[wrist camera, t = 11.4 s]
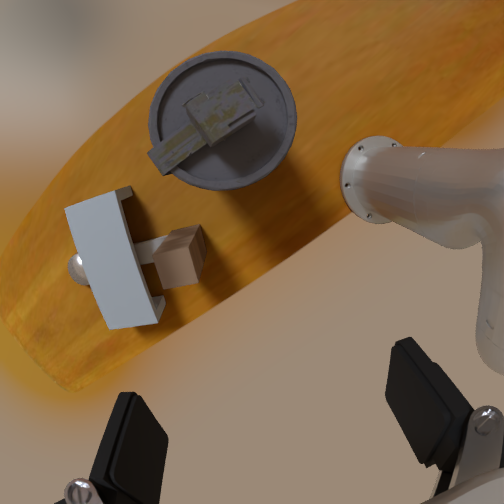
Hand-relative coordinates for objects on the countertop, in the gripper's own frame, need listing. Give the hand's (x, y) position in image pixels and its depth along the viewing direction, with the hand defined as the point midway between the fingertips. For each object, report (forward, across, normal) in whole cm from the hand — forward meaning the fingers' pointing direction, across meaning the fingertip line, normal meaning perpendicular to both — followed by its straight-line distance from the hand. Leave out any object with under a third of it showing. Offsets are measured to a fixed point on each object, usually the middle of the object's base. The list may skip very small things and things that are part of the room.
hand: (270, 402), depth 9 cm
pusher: (+30, +14, +2) cm, 33 cm away
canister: (+31, 0, -11) cm, 32 cm away
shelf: (+30, +18, +1) cm, 35 cm away
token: (+31, +25, +2) cm, 40 cm away
